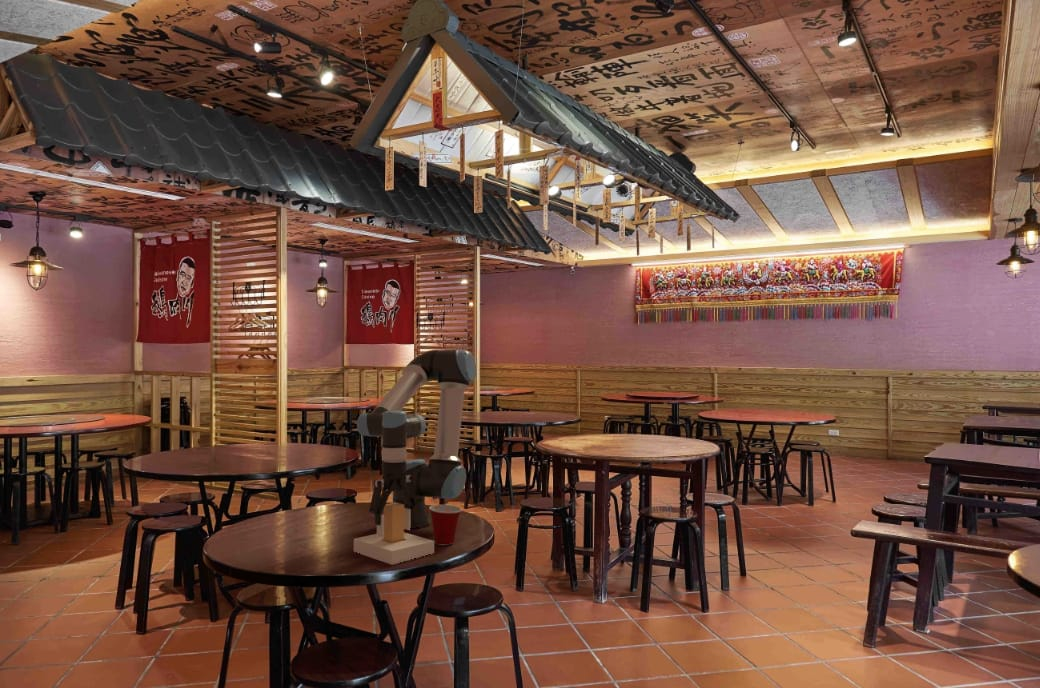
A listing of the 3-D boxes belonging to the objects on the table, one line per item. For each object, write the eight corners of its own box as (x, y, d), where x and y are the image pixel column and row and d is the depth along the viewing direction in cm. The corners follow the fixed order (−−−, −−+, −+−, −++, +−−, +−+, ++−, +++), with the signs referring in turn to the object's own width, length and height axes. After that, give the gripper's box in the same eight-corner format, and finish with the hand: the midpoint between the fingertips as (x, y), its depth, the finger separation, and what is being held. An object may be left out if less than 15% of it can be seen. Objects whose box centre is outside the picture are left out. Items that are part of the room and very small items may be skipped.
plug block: (395, 549, 225) (395, 502, 225) (403, 552, 222) (404, 504, 222) (383, 552, 222) (383, 504, 222) (392, 555, 218) (392, 506, 219)
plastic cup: (461, 548, 227) (462, 510, 227) (427, 548, 227) (428, 510, 227) (462, 539, 238) (462, 503, 238) (429, 539, 237) (430, 503, 238)
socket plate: (395, 541, 234) (395, 529, 234) (434, 553, 221) (434, 540, 221) (353, 551, 223) (353, 538, 223) (392, 564, 209) (392, 551, 209)
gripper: (414, 455, 233) (414, 524, 232) (357, 463, 216) (356, 536, 216) (429, 457, 227) (429, 527, 227) (371, 465, 211) (371, 541, 211)
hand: (393, 532), depth 222 cm, fingers open, 9 cm apart
